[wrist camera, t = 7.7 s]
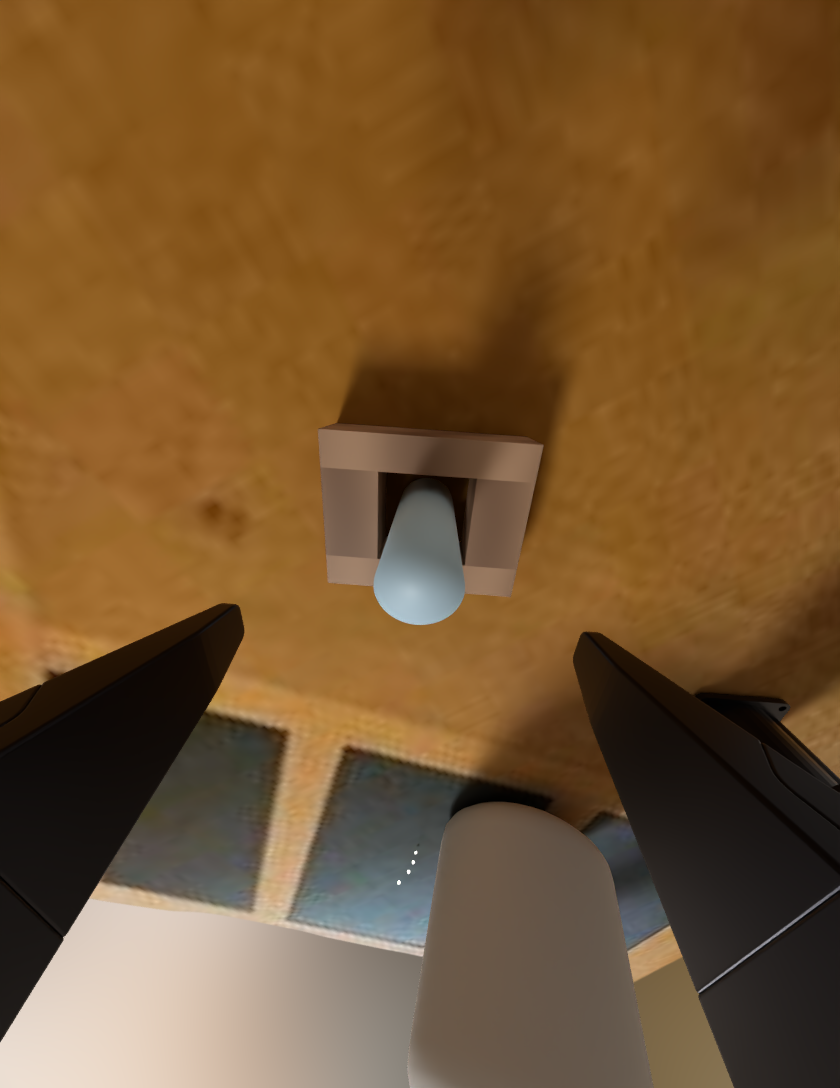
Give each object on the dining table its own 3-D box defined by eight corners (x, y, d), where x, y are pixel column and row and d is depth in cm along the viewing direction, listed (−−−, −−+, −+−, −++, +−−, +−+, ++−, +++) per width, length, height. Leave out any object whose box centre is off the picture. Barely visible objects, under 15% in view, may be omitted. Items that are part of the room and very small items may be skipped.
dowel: (455, 480, 18) (470, 550, 10) (449, 529, 19) (459, 628, 11) (401, 475, 18) (373, 543, 10) (399, 525, 20) (373, 620, 11)
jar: (415, 864, 37) (383, 1616, 14) (382, 787, 31) (237, 1871, 8) (589, 856, 34) (883, 1744, 12) (590, 771, 29) (1185, 2233, 6)
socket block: (526, 436, 17) (543, 445, 14) (500, 569, 20) (510, 596, 18) (336, 423, 17) (317, 428, 14) (342, 557, 21) (328, 582, 18)
